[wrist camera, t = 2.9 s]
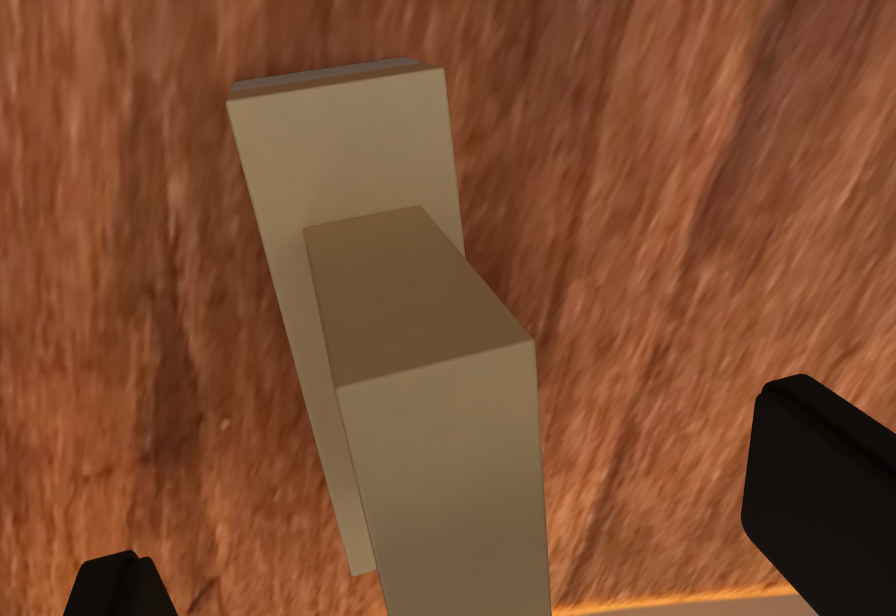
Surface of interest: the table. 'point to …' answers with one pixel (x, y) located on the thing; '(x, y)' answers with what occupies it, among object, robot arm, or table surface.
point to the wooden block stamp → (398, 337)
